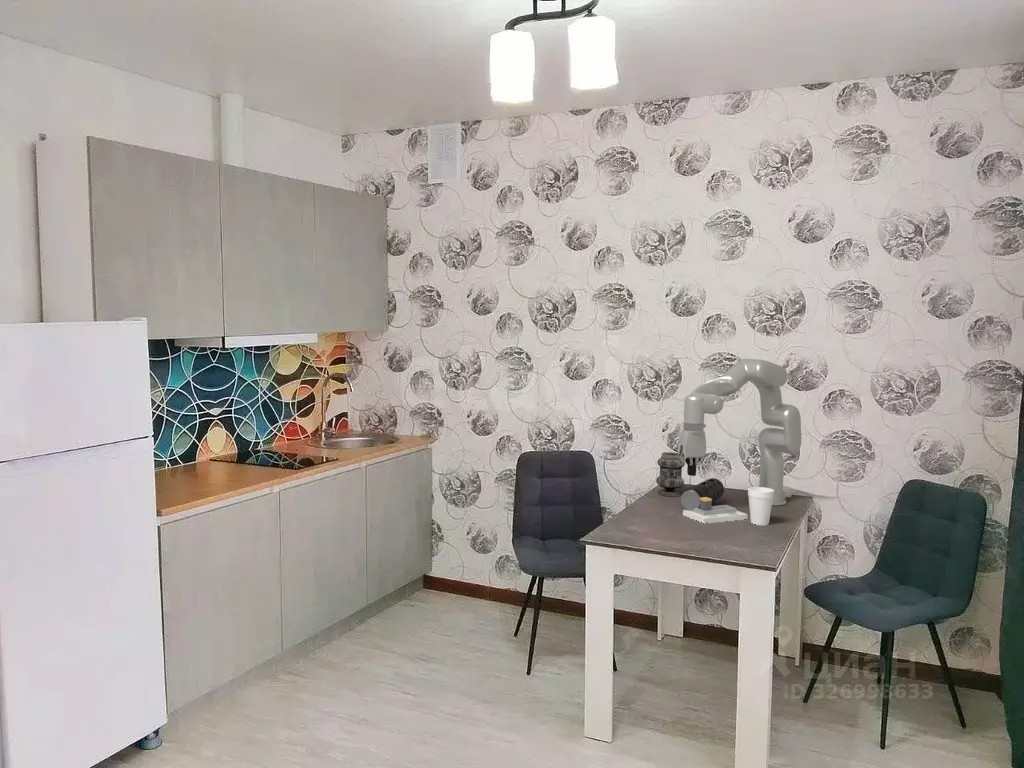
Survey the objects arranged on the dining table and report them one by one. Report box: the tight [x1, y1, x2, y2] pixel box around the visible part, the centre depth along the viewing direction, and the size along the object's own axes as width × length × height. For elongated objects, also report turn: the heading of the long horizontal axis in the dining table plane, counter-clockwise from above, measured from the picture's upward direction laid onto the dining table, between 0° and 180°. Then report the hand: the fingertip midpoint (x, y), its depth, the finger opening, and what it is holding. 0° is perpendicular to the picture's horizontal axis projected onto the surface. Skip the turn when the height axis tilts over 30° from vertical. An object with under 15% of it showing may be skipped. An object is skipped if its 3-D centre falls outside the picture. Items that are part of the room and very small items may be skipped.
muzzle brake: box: [680, 477, 725, 511], centre depth 325 cm, size 10×28×10 cm, turn 148°
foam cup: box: [747, 486, 774, 526], centre depth 303 cm, size 10×9×13 cm
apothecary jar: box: [655, 451, 686, 497], centre depth 351 cm, size 12×12×18 cm
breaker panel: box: [682, 504, 749, 525], centre depth 312 cm, size 20×14×4 cm
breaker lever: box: [700, 497, 713, 511], centre depth 310 cm, size 3×3×6 cm
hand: (691, 475), depth 306 cm, fingers closed
